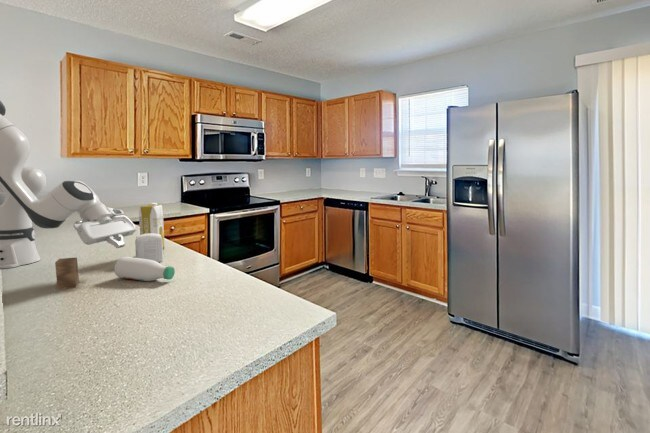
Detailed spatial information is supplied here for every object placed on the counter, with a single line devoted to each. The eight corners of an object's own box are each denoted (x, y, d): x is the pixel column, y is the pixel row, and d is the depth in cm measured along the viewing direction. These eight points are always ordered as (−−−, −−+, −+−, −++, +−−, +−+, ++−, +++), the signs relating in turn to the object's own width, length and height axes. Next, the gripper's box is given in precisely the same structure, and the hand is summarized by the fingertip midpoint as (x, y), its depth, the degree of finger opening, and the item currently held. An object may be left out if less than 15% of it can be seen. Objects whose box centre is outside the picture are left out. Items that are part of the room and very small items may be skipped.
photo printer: (162, 259, 152) (161, 231, 150) (164, 261, 149) (162, 233, 147) (135, 262, 147) (133, 233, 145) (136, 265, 143) (135, 235, 141)
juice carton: (157, 258, 153) (154, 204, 150) (139, 258, 153) (136, 203, 150) (166, 253, 163) (164, 202, 159) (149, 252, 163) (147, 201, 159)
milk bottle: (110, 273, 122) (161, 279, 119) (119, 253, 126) (170, 258, 122) (123, 280, 129) (172, 287, 125) (132, 261, 132) (180, 267, 129)
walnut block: (57, 289, 115) (55, 262, 114) (61, 284, 120) (59, 258, 118) (75, 287, 117) (73, 261, 116) (79, 282, 122) (76, 257, 120)
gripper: (75, 216, 117) (100, 247, 116) (125, 209, 137) (147, 235, 136) (66, 228, 119) (90, 259, 118) (117, 219, 139) (138, 246, 137)
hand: (121, 246), depth 127 cm, fingers closed
